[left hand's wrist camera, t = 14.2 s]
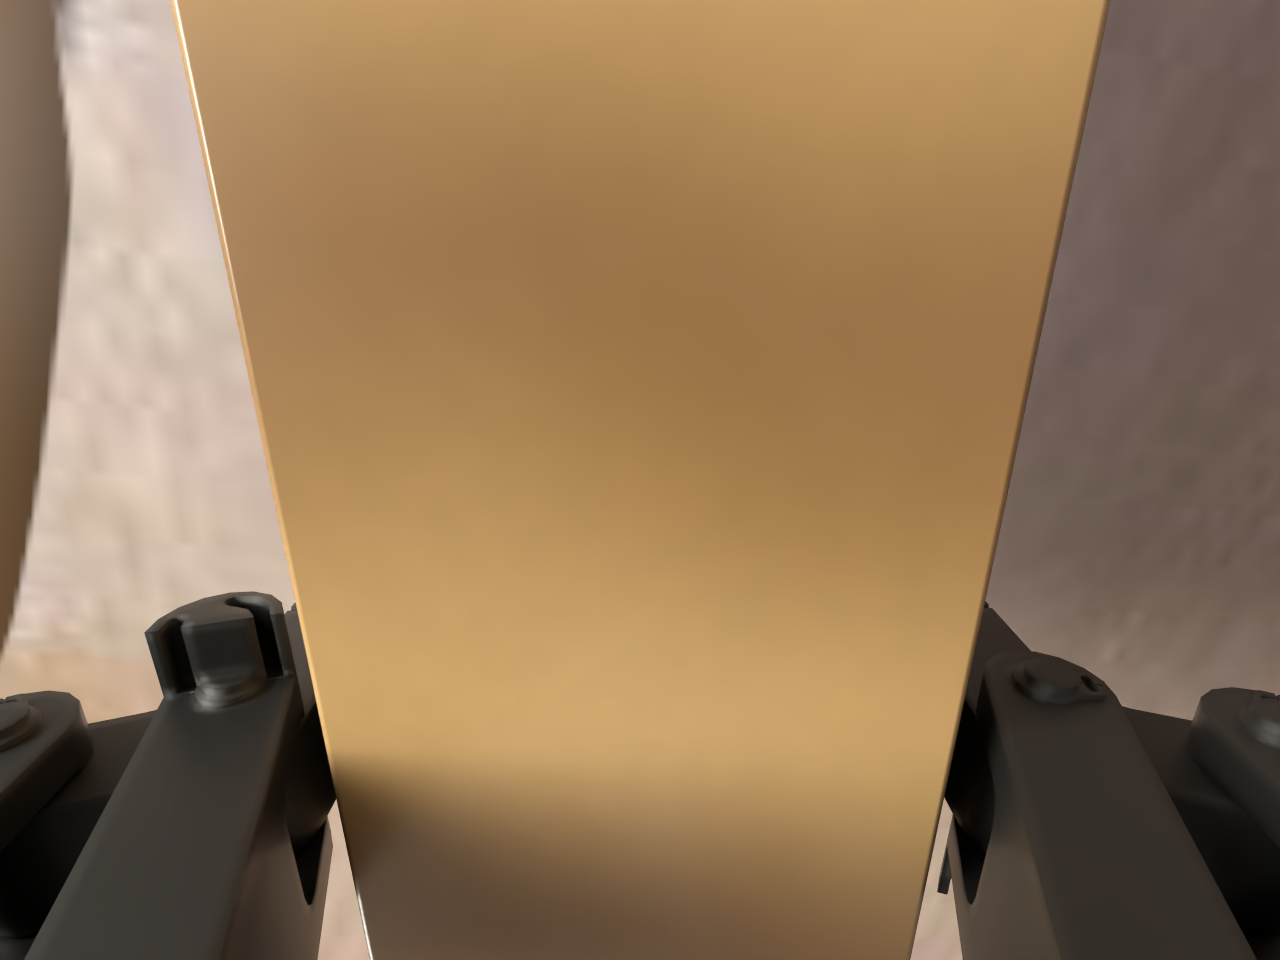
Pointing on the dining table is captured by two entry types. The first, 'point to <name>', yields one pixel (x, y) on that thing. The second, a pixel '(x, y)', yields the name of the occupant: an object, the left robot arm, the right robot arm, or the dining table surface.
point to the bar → (640, 436)
